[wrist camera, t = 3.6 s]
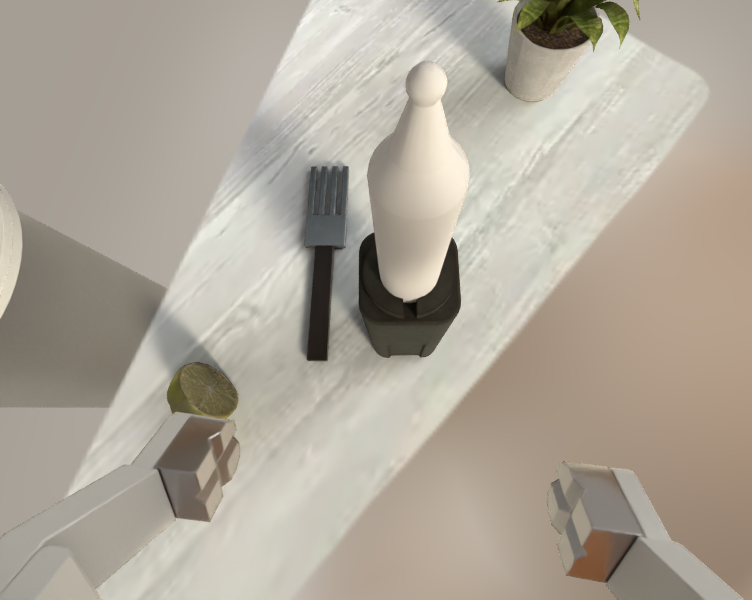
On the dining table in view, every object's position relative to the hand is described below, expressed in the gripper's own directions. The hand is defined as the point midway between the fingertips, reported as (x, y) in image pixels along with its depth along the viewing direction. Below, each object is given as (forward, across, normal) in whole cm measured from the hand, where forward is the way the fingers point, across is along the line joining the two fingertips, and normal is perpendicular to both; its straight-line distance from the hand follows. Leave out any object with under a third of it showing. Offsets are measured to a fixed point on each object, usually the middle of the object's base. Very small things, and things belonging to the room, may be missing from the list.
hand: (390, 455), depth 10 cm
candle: (+20, 0, +9) cm, 22 cm away
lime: (+15, +14, +14) cm, 25 cm away
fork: (+24, +8, +5) cm, 26 cm away
